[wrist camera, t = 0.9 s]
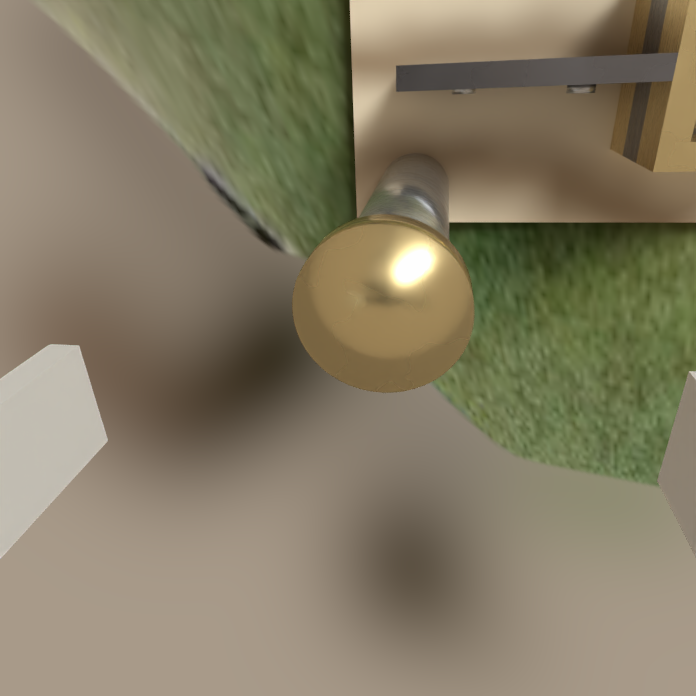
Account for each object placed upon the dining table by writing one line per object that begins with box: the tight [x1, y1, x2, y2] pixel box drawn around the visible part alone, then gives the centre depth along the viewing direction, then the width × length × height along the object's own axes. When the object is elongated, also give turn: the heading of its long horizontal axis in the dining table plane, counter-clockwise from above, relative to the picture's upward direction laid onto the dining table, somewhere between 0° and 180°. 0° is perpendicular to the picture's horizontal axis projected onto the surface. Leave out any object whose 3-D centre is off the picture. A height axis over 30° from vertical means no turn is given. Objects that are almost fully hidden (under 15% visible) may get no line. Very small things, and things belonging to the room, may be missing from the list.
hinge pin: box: [292, 153, 474, 393], centre depth 24 cm, size 5×5×18 cm
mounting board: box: [350, 0, 696, 223], centre depth 27 cm, size 16×35×1 cm, turn 92°
